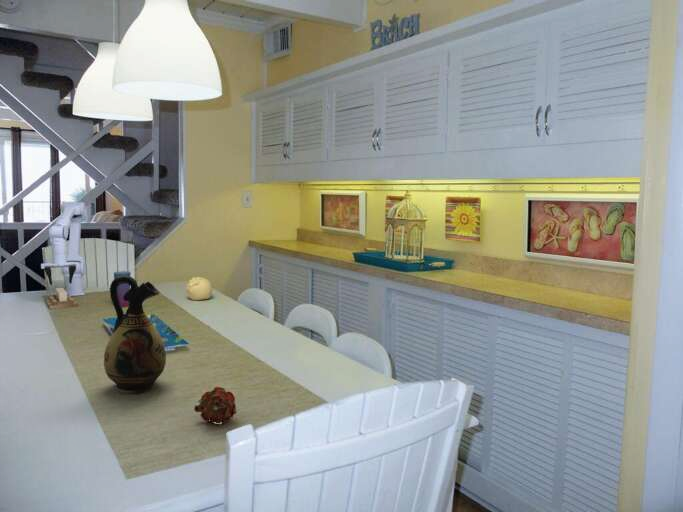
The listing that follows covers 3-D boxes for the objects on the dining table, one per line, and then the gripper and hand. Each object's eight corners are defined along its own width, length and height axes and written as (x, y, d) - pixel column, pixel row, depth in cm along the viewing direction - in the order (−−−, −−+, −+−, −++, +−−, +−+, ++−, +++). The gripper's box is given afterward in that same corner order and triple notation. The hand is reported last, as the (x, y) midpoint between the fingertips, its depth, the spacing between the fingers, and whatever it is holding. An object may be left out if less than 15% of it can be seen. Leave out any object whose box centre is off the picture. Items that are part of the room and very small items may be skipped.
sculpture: (185, 297, 261) (185, 275, 260) (211, 296, 265) (211, 274, 263) (186, 302, 250) (186, 279, 249) (213, 301, 254) (213, 278, 252)
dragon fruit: (223, 439, 120) (206, 426, 130) (251, 411, 124) (233, 400, 134) (199, 413, 118) (184, 402, 128) (228, 384, 121) (211, 375, 131)
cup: (114, 305, 241) (113, 271, 239) (130, 304, 244) (130, 270, 242) (115, 308, 235) (114, 273, 233) (132, 307, 237) (131, 273, 236)
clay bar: (55, 299, 245) (55, 288, 244) (63, 298, 247) (62, 287, 246) (59, 304, 235) (59, 292, 235) (67, 303, 237) (66, 292, 236)
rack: (45, 300, 245) (44, 295, 245) (72, 298, 252) (71, 293, 251) (50, 308, 231) (49, 303, 230) (78, 306, 237) (78, 300, 236)
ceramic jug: (173, 377, 153) (171, 272, 149) (156, 398, 138) (154, 282, 134) (112, 376, 153) (108, 271, 149) (88, 398, 137) (84, 280, 134)
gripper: (41, 255, 231) (43, 286, 233) (79, 253, 239) (80, 283, 241) (39, 253, 237) (41, 283, 238) (76, 251, 245) (77, 281, 247)
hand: (60, 283), depth 240 cm, fingers open, 7 cm apart
